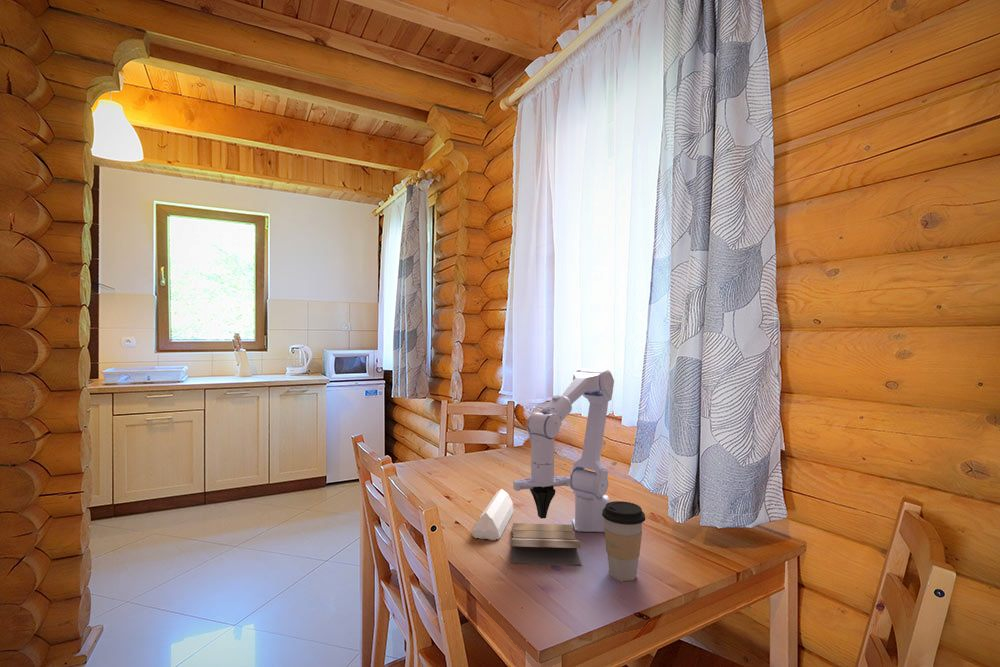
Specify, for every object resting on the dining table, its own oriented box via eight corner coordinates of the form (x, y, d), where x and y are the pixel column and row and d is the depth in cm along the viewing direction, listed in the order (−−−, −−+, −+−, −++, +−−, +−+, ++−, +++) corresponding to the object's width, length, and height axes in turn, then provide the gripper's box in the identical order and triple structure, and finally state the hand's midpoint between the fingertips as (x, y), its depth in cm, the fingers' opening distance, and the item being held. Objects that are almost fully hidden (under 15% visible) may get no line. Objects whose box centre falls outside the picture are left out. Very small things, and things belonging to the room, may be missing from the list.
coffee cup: (593, 574, 104) (593, 506, 104) (615, 560, 110) (616, 497, 110) (631, 590, 97) (631, 518, 97) (652, 574, 103) (653, 507, 104)
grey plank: (575, 546, 116) (575, 539, 117) (580, 548, 108) (580, 541, 109) (512, 544, 117) (512, 538, 118) (511, 546, 109) (512, 539, 109)
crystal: (504, 530, 118) (521, 498, 141) (481, 513, 119) (501, 485, 143) (490, 553, 119) (508, 518, 142) (467, 537, 120) (489, 504, 143)
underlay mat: (571, 528, 128) (571, 527, 128) (581, 565, 107) (581, 564, 107) (512, 526, 129) (512, 525, 129) (510, 563, 108) (510, 562, 108)
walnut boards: (571, 530, 126) (571, 524, 126) (575, 544, 117) (575, 539, 117) (512, 528, 127) (513, 523, 127) (512, 543, 118) (512, 537, 118)
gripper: (562, 456, 120) (562, 508, 120) (509, 459, 116) (509, 513, 116) (574, 463, 114) (574, 518, 114) (518, 467, 110) (518, 524, 109)
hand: (542, 516), depth 114 cm, fingers closed
